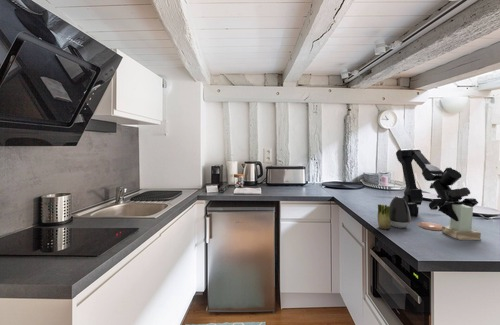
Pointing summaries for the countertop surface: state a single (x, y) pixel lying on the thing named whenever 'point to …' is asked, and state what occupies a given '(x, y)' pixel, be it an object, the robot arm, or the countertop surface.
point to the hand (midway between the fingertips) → (463, 220)
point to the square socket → (461, 234)
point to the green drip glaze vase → (383, 216)
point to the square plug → (462, 218)
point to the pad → (430, 226)
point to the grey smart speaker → (399, 213)
